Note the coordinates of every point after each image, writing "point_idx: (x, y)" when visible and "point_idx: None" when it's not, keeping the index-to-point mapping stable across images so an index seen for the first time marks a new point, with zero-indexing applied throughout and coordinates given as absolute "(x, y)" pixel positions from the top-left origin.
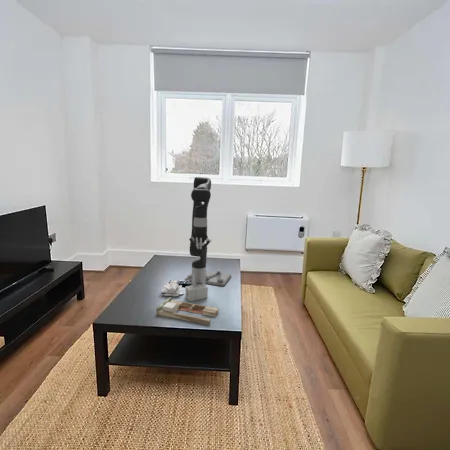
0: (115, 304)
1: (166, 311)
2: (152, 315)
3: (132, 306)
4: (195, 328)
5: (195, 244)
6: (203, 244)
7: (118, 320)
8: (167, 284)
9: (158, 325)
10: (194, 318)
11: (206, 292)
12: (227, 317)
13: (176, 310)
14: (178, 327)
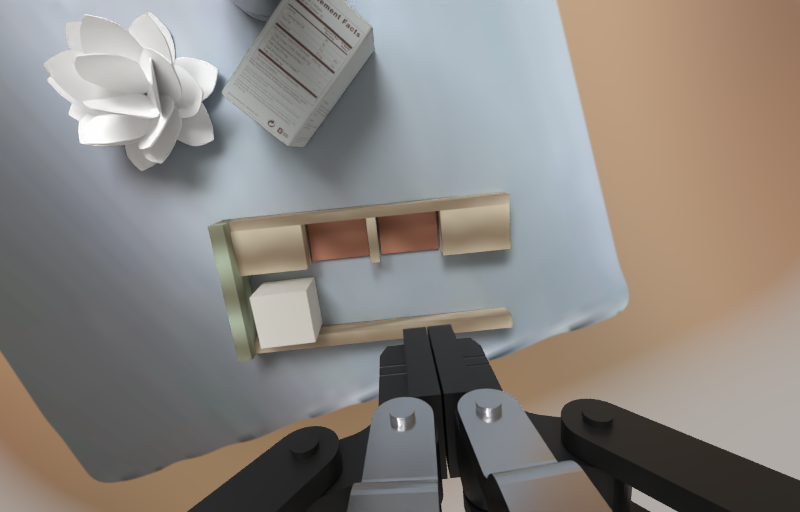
0: (6, 349)
1: None
2: None
3: (92, 329)
4: None
5: (273, 503)
6: (562, 464)
7: (151, 445)
8: (64, 77)
9: (318, 408)
10: None
11: (368, 46)
12: (560, 221)
13: (314, 287)
14: None
